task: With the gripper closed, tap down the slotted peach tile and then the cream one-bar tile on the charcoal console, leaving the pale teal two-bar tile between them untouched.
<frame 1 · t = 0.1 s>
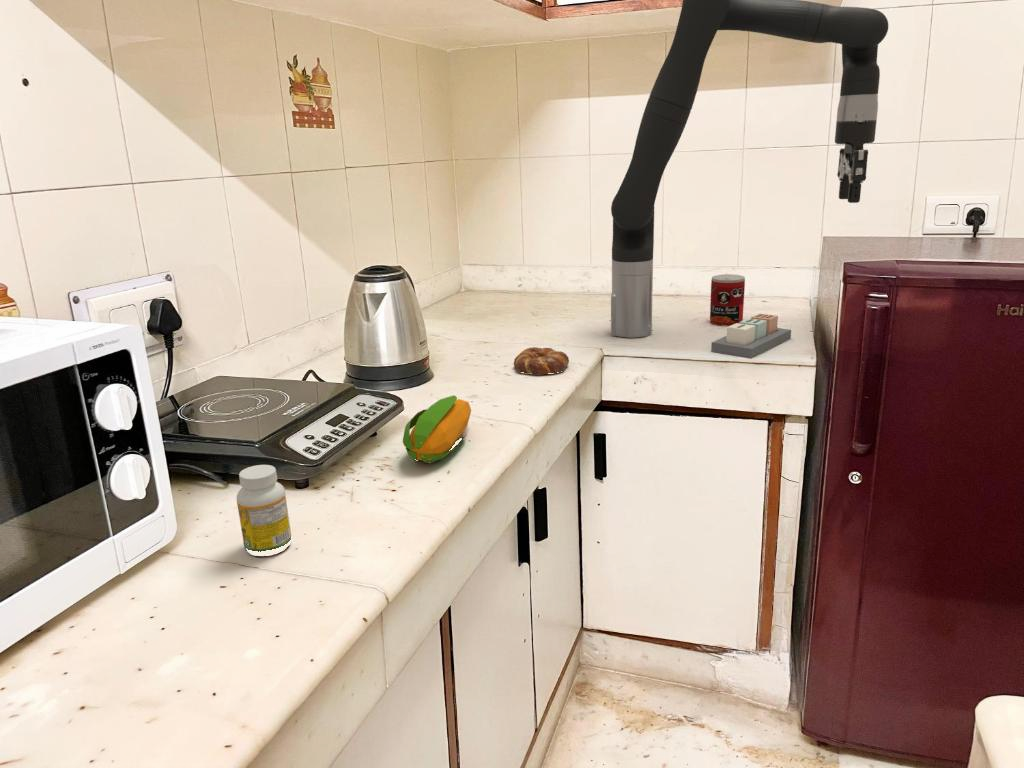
hand: (848, 200, 161), 29 cm above the counter, tool pointing down, fingers open, 8 cm apart
teal tile: (752, 329, 164), point 4 cm above the counter, slide at 0.0 cm
cream tile: (740, 334, 160), point 4 cm above the counter, slide at 0.0 cm
corn: (442, 448, 117), on the counter
canned food: (726, 323, 185), on the counter
brown bread ring: (540, 370, 155), on the counter
console: (751, 344, 165), on the counter
supplement bottle: (269, 548, 90), on the counter
slotted peach tile: (764, 324, 167), point 4 cm above the counter, slide at 0.0 cm
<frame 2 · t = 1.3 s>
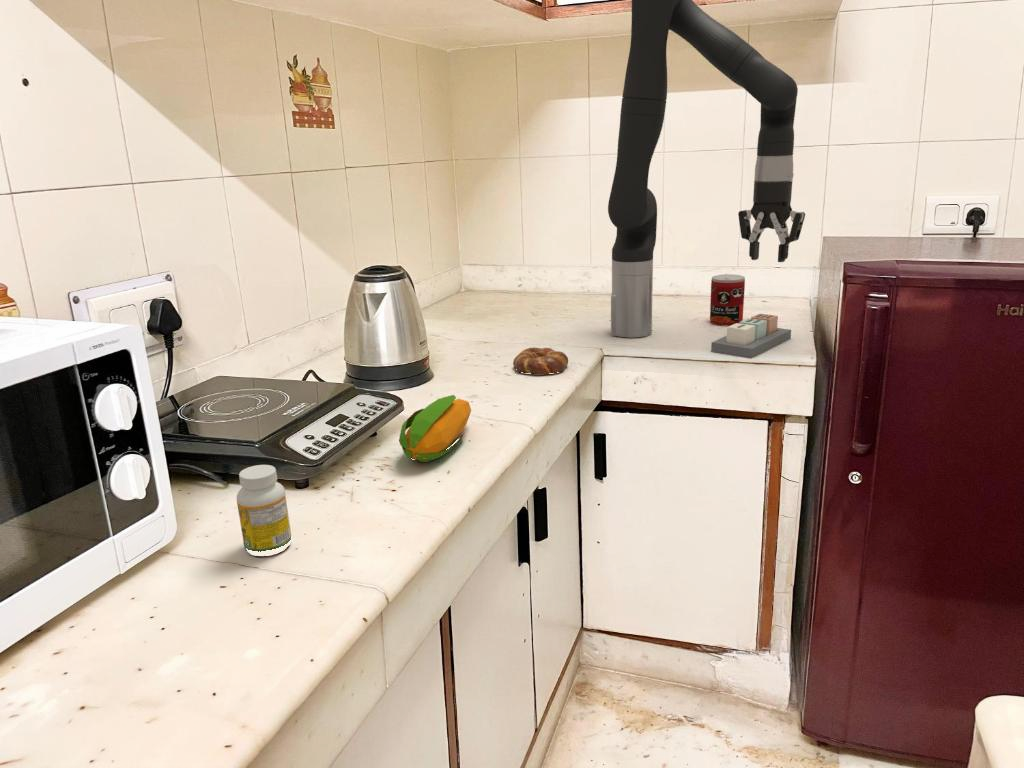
hand: (768, 260, 163), 17 cm above the counter, tool pointing down, fingers open, 5 cm apart
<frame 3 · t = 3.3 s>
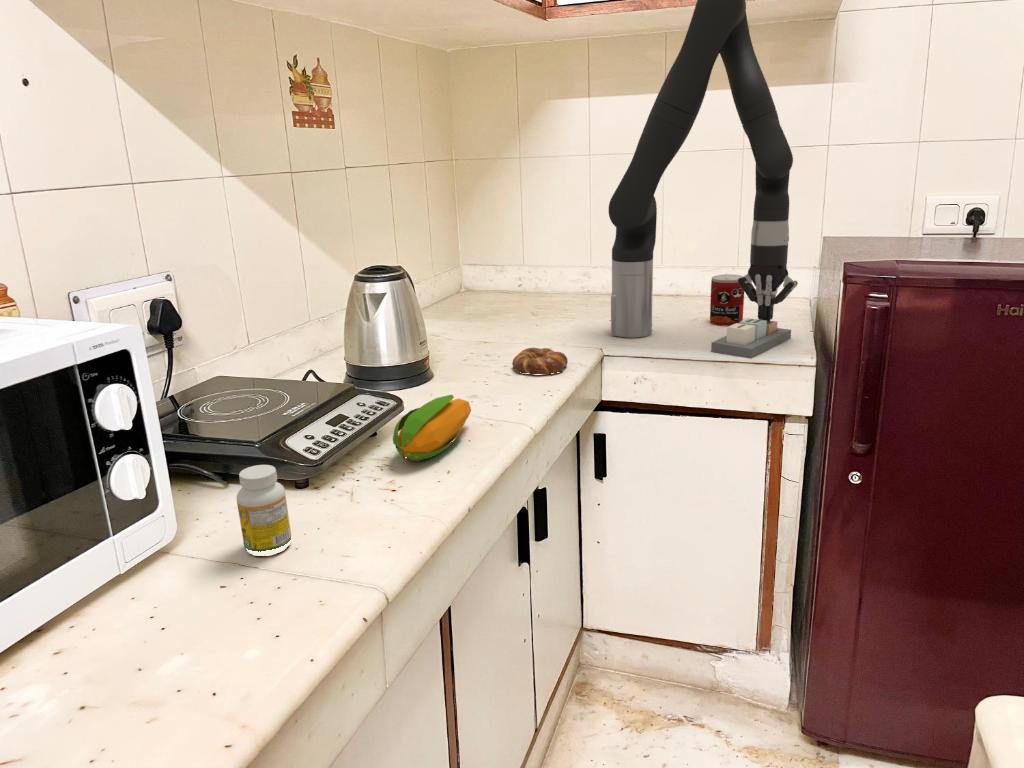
hand: (765, 321, 167), 4 cm above the counter, tool pointing down, fingers closed
slotted peach tile: (763, 329, 168), point 2 cm above the counter, slide at -1.3 cm, touching gripper
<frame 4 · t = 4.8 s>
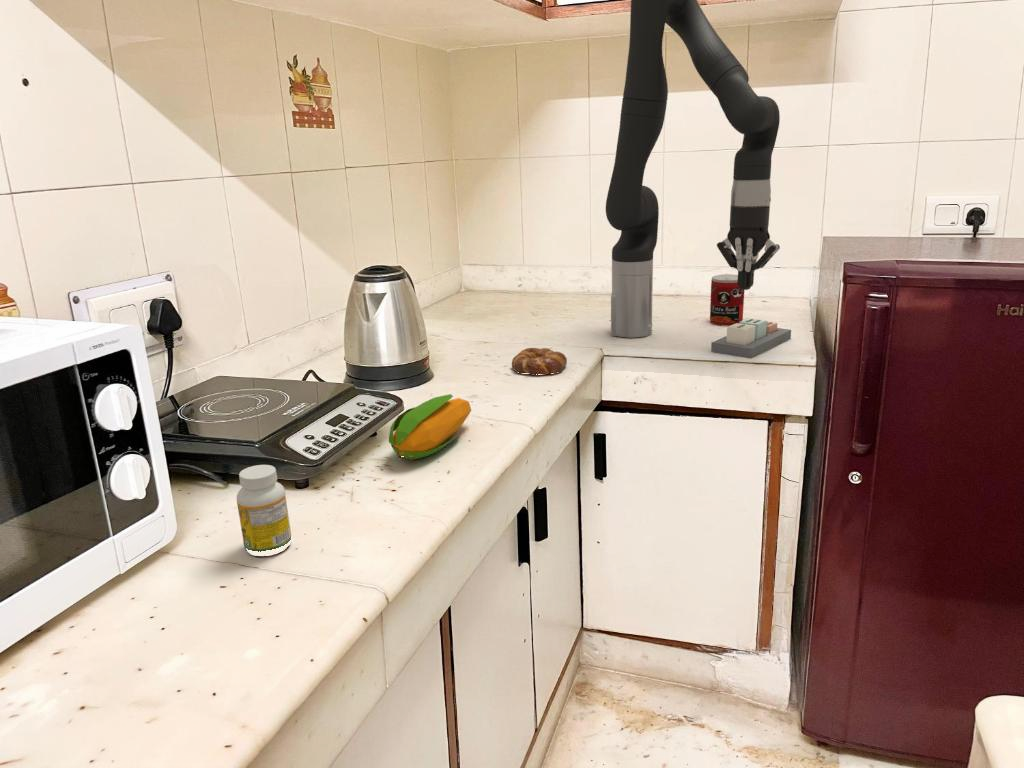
hand: (745, 288, 158), 13 cm above the counter, tool pointing down, fingers closed
slotted peach tile: (763, 331, 168), point 2 cm above the counter, slide at -1.6 cm
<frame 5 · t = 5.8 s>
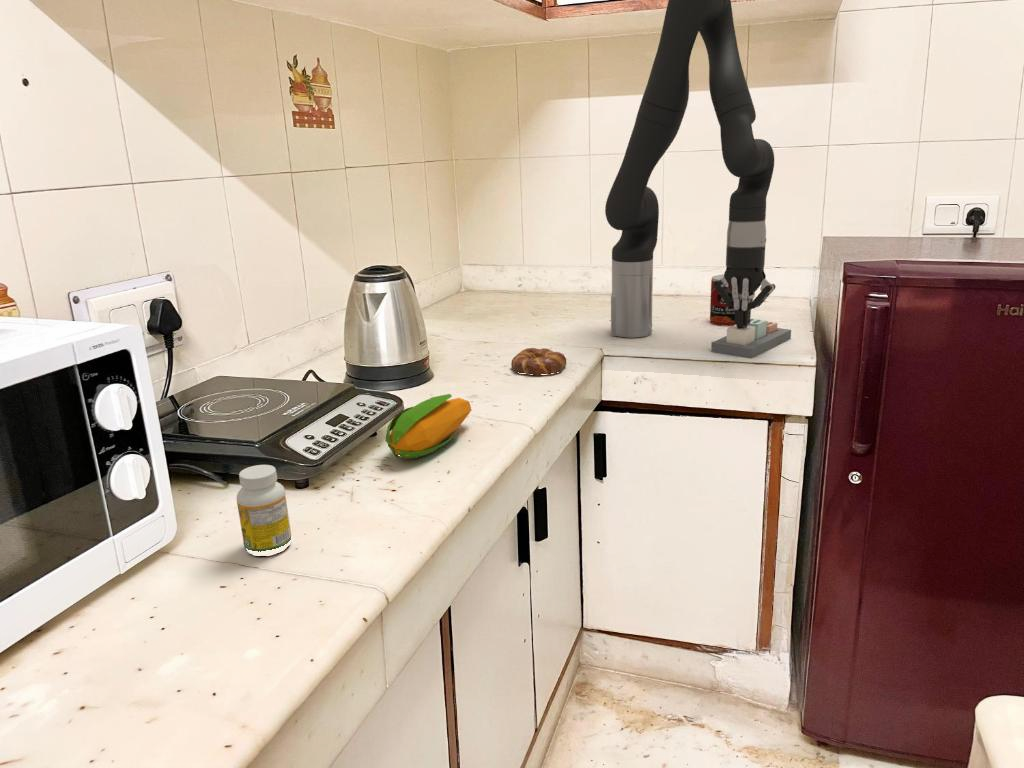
hand: (742, 327, 159), 5 cm above the counter, tool pointing down, fingers closed
cream tile: (740, 335, 160), point 3 cm above the counter, slide at -0.3 cm, touching gripper
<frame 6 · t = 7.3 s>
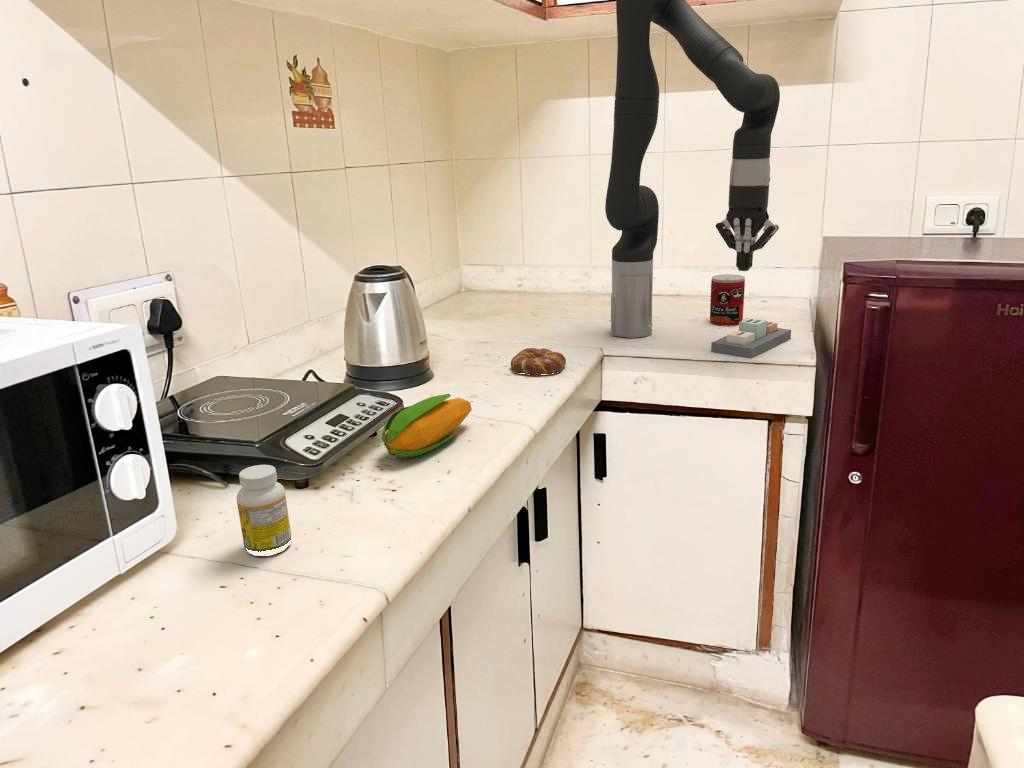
hand: (743, 270, 156), 17 cm above the counter, tool pointing down, fingers closed
cream tile: (740, 341, 160), point 2 cm above the counter, slide at -1.6 cm
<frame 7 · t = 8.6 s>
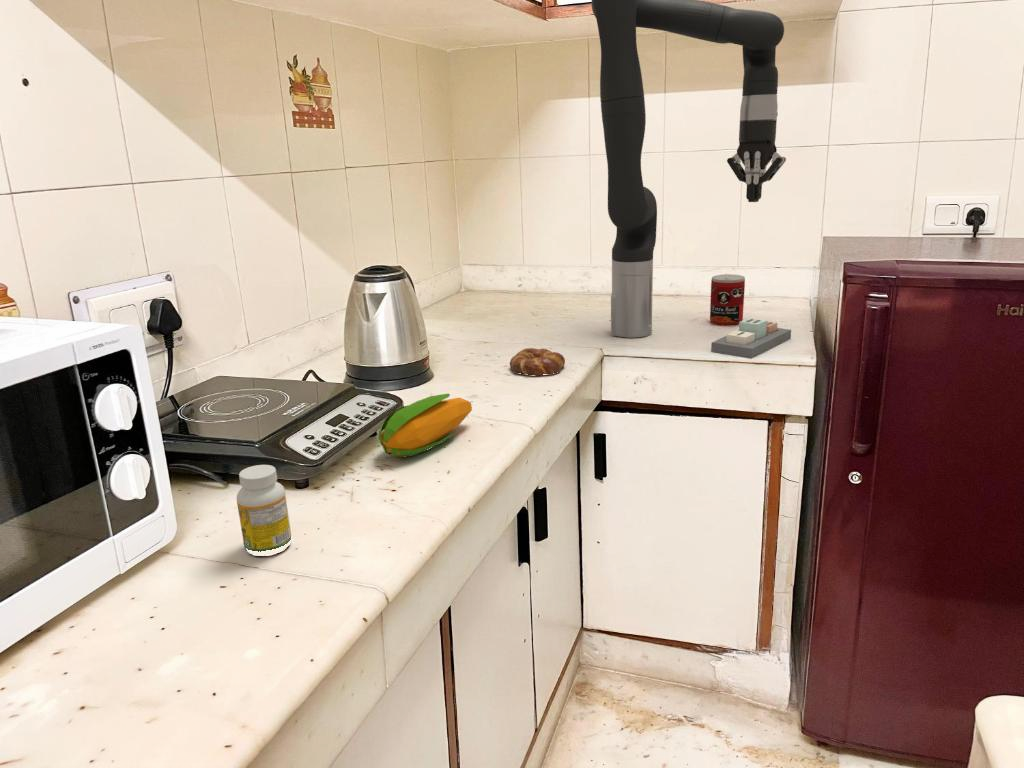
hand: (753, 201, 168), 29 cm above the counter, tool pointing down, fingers closed
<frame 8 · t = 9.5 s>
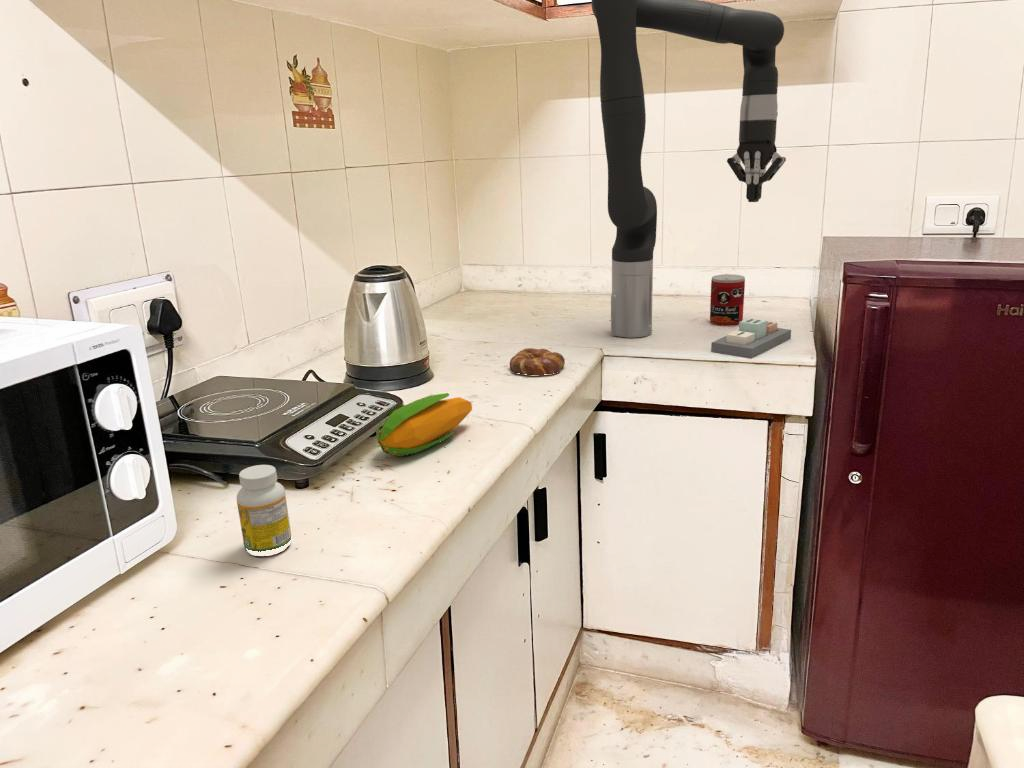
hand: (753, 201, 168), 29 cm above the counter, tool pointing down, fingers closed
at the end: slotted peach tile slide at -1.6 cm; cream tile slide at -1.6 cm; teal tile slide at 0.0 cm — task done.
